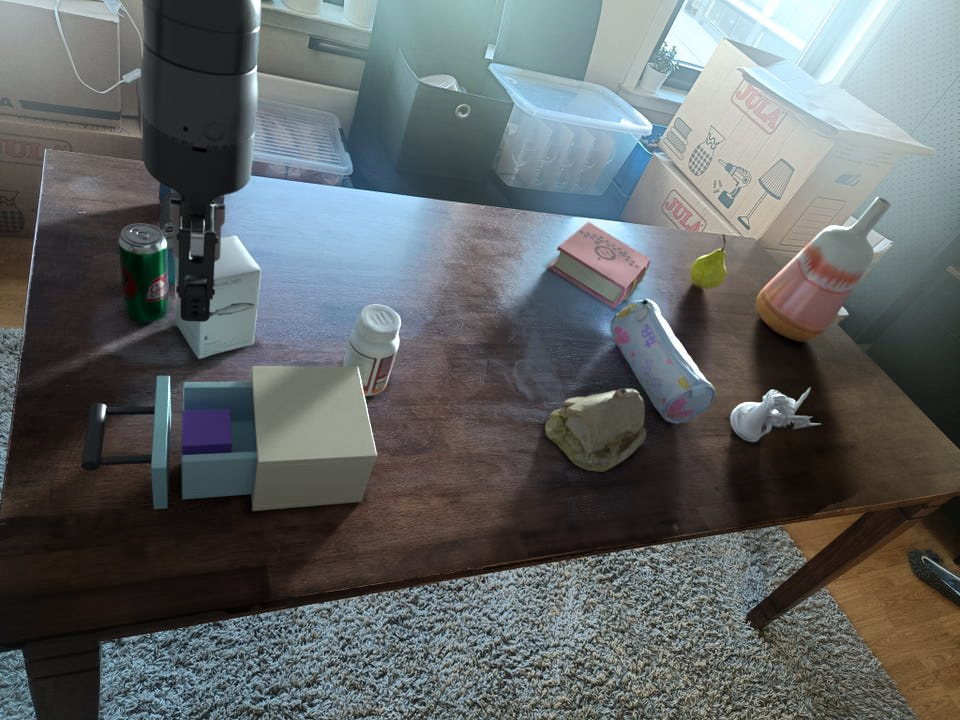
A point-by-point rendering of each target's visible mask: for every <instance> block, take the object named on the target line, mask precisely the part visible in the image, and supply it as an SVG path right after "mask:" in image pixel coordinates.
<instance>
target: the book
mask: <svg viewBox="0 0 960 720" xmlns="http://www.w3.org/2000/svg"><path fill="white" fill-rule="evenodd" d="M556 250H557V251H559V254H558V257H557V258H556V259H555V260H554V261H552V262H551V263H550V264H549V265H548V267H547V268H548V269H549V270H551V271H552V272H554V273H555V274H557V275H559V276H560V277H562V278H563V279H565V280H567V281H568V282H570V283H571V284H573V285H574V286H576V287H578V288H580V289H581V290H583V291H585V292H586V293H588V294H590V295H591V296H592V297H594V298H596V299H597V300H599V301H600V302H602V303H603V304H605V305H607V306H608V307H610V308H612V309H613V310H614V309H616V308H617V307H618V306H619V304H621V303H622V302H624V301H625V300H626V299H628V298H629V297H630V296H631V294H632V292H633V291H634V289H635V288H636V287H637V286H638V285H640V283H641V282H642V281H643V279H644V277H645V276H646V273H647V271H648V269H649V267H650V264H651V260H652V259H651V258H650V257H648V256H646V255H645V254H643V253H642V252H641V251H639V250H636V249H635V248H633V247H631V246H630V245H628V244H626V243H625V242H623V241H622V240H620V239H618V238H617V237H615V236H613V235H611V234H610V233H608V232H606V231H605V230H603V229H602V228H599V227H598V226H597V225H595V224H593V223H592V222H590V221H587V222H586V223H584V225H582V226H581V227H579V229H577V230H575V232H573V234H571V235H570V236H569V237H568V238H567V239H565V240H564V241H563V242H562V243H560V244H559V245H558V247H557V248H556Z"/></svg>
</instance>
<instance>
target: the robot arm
mask: <svg viewBox="0 0 960 720" xmlns="http://www.w3.org/2000/svg"><path fill="white" fill-rule="evenodd" d="M141 5H142V30H143V31H142V34H143V35H142V36H143V46H142V47H143V48H142V57H141V64H140V96H141V97H140V99H141V125H142V131H141V132H142V155H143V156H142V157H143V158H142V159H143V164H144V167H145V169H146V170H147V172H148V173H149V174H150V176H151V177H152V178H153V179H155V180H156V181H157V182H158V183H159V184H160V183H162V184H163V185H165V186H167V187H170V188H171V198H170V218H171V220H172V221H173V255H174V256H175V257H176V258H178V259H179V278H177V284H178V286H177V287H176V293H178V298H181V319H182V320H184V321H198V322H205V321H207V320H209V314H210V299H212V300H213V295H215V289H213V286H214V284H215V280H214V263H215V261H217V260H219V258H220V248H221V238H222V227H223V225H224V224H225V222H226V204H225V196H226V195H231V194H234V193H236V192H239V191H240V190H242V189H243V188H245V186H247V184H248V183H249V181H250V179H251V176H252V168H253V157H254V145H255V133H256V122H257V121H256V120H257V111H258V103H259V102H258V100H259V86H258V85H259V84H258V55H259V44H260V43H259V42H260V31H261V22H262V0H142V4H141ZM181 217H182V228H181Z"/></svg>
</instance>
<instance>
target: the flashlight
mask: <svg viewBox="0 0 960 720" xmlns="http://www.w3.org/2000/svg"><path fill="white" fill-rule="evenodd" d="M170 198H171V188H170V187H167V186H165V185H163V184H162V183H160V182H159V190H158V201H159V204H160V206H159V207H160V211H159V213H160V214H159V222H158V225H159V229H160V230H161V231H162V232H163V235H164V237H165V238H166V240H167V251H168V285H169V286H175V256H174V255H173V221H172V220H171V218H170ZM181 228H182V217H181Z"/></svg>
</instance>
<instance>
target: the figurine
mask: <svg viewBox="0 0 960 720" xmlns="http://www.w3.org/2000/svg"><path fill="white" fill-rule="evenodd" d="M811 389H812V387H811V386H810V387H809V388H807V390H806V391H805V392H804V393H803V394H801V395H800V397H799V398H798V400H795V399H794V398H791V397H788V396H787V395H785V394H782V392H779V390H776V389H770V390H769V391H768V392H767V393H766V394H765V395H763V396H762V402H753V401H750V402H749V401H748V402H743V403H740V404H738V405H737V406H736V407H735V408H734V409H732V412H731V414H730V417H729V419H730V425H731V428H732V430H733V431H734V432H735V434H736V435H737V436H738V437H740V438H741V439H742V440H744V441H745V442H746V441H747V442H748V443H757V442H758V441H759V440H760V438H762V437H763V436H765V435H766V434H769V433H770V432H771V431H772V429H773V427H777V428H781V427H783V428H787V425H788V426H791V423H792V424H793V427H792V428H791V430H797V429H802V428H808V427H815V426H819V425H821V423H816V422H815V423H814V422H811V420H810V419H811V418H813V415H812V416H808V415H795V413H796V412H797V410H798V409H799V407H800V406H801V405H802V403H804V401H805V399H806V398H807V397H808V396H809V394H810V392H811ZM764 425H765V426H766V429H765V430H764V431H762V428H763V426H764Z"/></svg>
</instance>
